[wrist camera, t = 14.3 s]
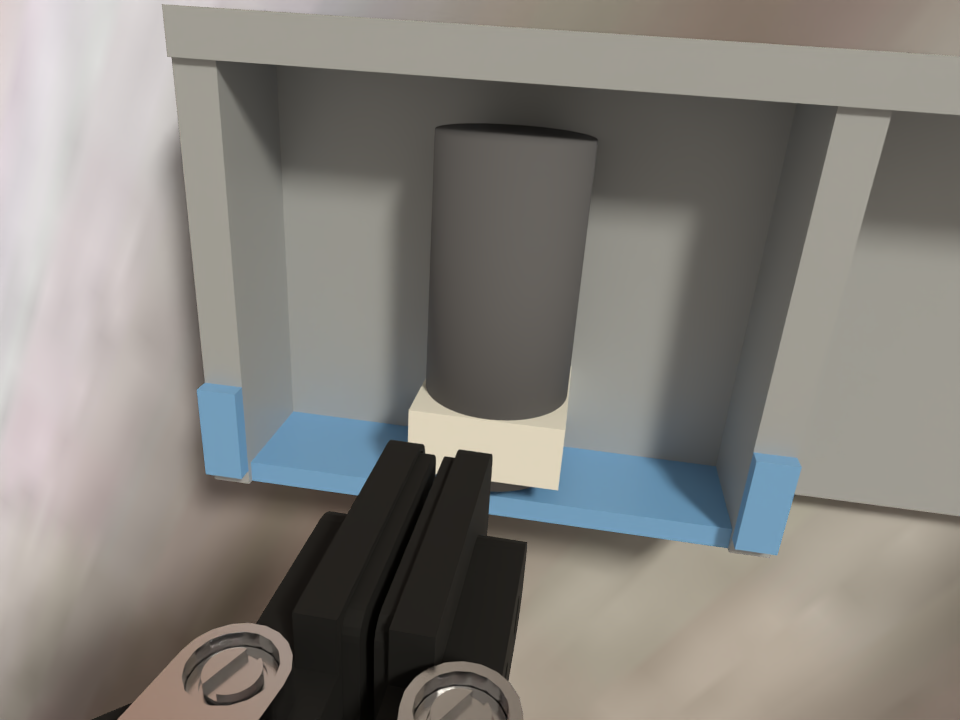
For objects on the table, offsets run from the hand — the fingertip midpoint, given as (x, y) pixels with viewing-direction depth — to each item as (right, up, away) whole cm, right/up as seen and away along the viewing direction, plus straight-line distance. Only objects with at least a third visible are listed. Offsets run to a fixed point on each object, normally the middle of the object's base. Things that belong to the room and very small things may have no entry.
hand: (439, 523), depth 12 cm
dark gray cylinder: (+1, +4, +10) cm, 11 cm away
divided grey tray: (+10, +5, +12) cm, 16 cm away
